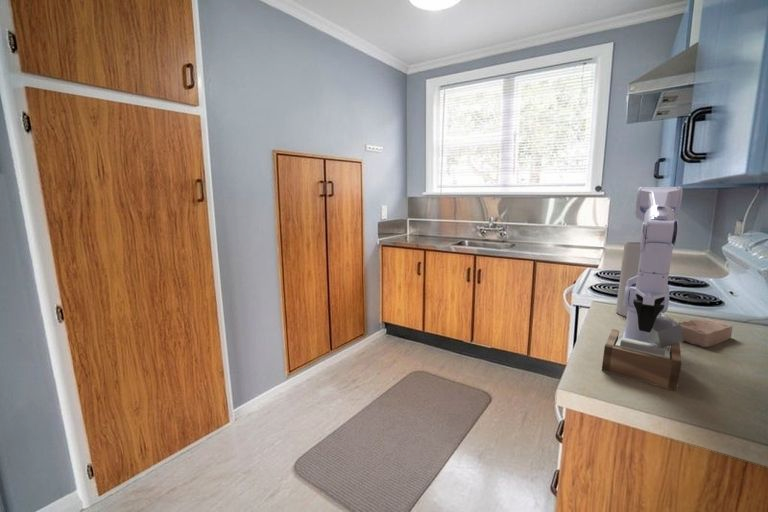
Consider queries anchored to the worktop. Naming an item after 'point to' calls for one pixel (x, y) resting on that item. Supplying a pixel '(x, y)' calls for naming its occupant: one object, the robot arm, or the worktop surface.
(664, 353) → the trapdoor
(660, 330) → the grey cube
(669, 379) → the frame
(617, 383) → the worktop surface
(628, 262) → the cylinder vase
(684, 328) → the brick
